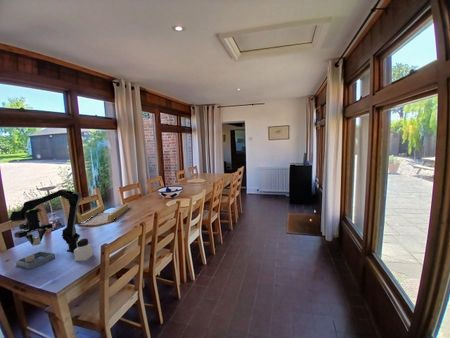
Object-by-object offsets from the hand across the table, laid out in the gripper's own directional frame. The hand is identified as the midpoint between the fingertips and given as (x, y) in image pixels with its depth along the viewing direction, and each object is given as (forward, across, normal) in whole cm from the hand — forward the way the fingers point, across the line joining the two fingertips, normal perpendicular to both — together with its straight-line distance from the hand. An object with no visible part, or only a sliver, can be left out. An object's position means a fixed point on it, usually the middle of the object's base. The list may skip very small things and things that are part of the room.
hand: (36, 242), depth 145 cm
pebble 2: (+1, 0, 0) cm, 1 cm away
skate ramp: (+10, -71, -27) cm, 76 cm away
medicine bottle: (+10, -8, +33) cm, 35 cm away
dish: (+9, +5, +8) cm, 13 cm away
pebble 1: (+9, +8, +8) cm, 14 cm away
